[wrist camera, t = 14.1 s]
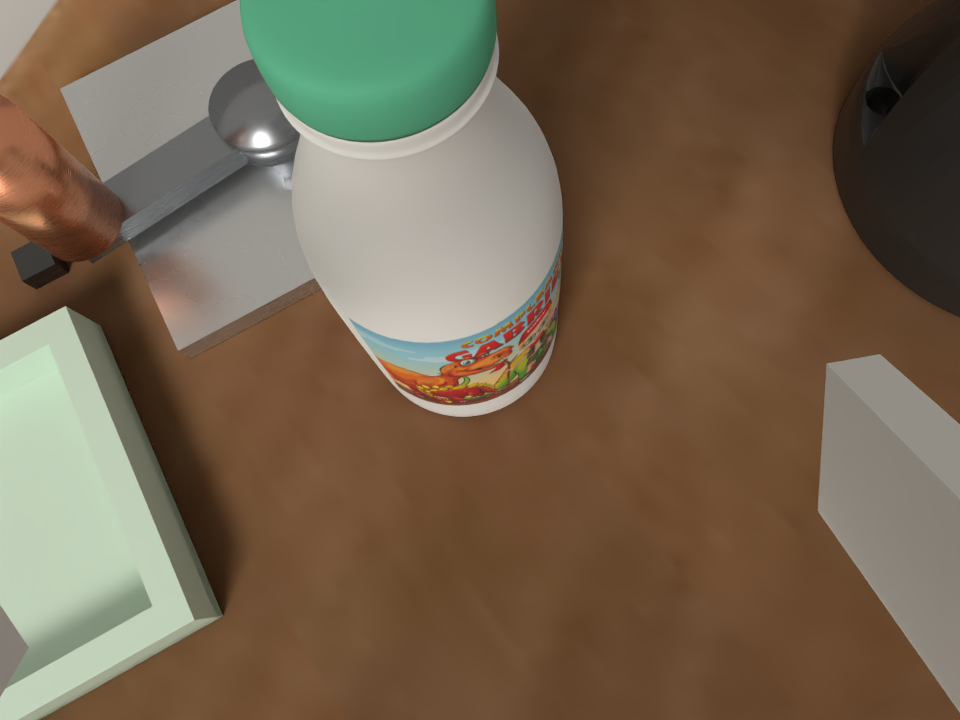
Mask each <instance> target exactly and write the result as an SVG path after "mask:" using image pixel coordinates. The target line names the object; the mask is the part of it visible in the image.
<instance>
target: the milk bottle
mask: <svg viewBox="0 0 960 720" xmlns="http://www.w3.org/2000/svg"><path fill="white" fill-rule="evenodd" d="M240 15H241V22H242V28H243V33H244V37H245V40H246V43H247V46H248V48H249V50H250V53H251V55H252V57H253V59H254V61H255V63H256V65H257V67H258V69H259V71H260V73H261V75H262V77H263V78H264V80H265V82H266V83H267V85H268V86H269V88H270V89H271V91H272V93H273V94H274V96H275V97H276V100H277V102H278V104H279V106H280V109H281V110H282V112H283V114H284V115H285V117H286V118H287V120H288V121H289V122H290V124H291V125H292V126H293V127H294V128H295V129H296V130H297V131H298V132H299V133H300V138H299V142H298V146H297V150H296V154H295V160H294V166H293V173H292V210H293V215H294V221H295V226H296V231H297V235H298V239H299V242H300V245H301V248H302V250H303V253H304V255H305V258H306V260H307V263H308V265H309V267H310V270H311V271H312V273H313V275H314V277H315V279H316V280H317V282H318V284H319V285H320V287H321V288H322V290H323V291H324V293H325V295H326V296H327V298H328V299H329V301H330V303H331V304H332V305H333V307H334V308H335V310H336V311H337V312H338V314H339V315H340V317H341V318H342V319H343V321H344V322H345V323H346V325H347V326H348V327H349V329H350V330H351V331H352V333H353V334H354V336H355V337H356V338H357V340H358V341H359V342H360V344H361V345H362V346H363V347H364V349H365V350H366V351H367V353H368V354H369V355H370V357H371V358H372V359H373V360H374V362H375V363H376V364H377V366H378V367H379V368H380V369H381V371H382V372H383V373H384V374H385V376H386V377H387V378H388V379H389V381H390V382H391V383H392V384H393V385H394V386H395V387H396V388H397V389H398V390H399V391H400V392H401V393H402V394H403V395H404V396H405V397H407V398H408V399H409V400H411V401H412V402H414V403H415V404H417V405H419V406H421V407H423V408H425V409H427V410H430V411H432V412H435V413H439V414H443V415H449V416H460V417H466V416H477V415H483V414H487V413H490V412H493V411H496V410H499V409H501V408H503V407H505V406H507V405H509V404H511V403H513V402H514V401H516V400H517V399H519V398H520V397H521V396H523V395H524V394H525V393H526V392H527V391H528V390H529V389H530V388H531V387H532V386H533V385H534V384H535V383H536V381H537V380H538V379H539V377H540V376H541V375H542V373H543V371H544V370H545V368H546V366H547V364H548V362H549V359H550V357H551V354H552V351H553V347H554V342H555V337H556V330H557V320H558V308H559V295H560V282H561V264H562V246H563V207H562V194H561V189H560V183H559V178H558V173H557V169H556V165H555V162H554V158H553V156H552V153H551V151H550V148H549V146H548V144H547V141H546V139H545V136H544V134H543V133H542V131H541V129H540V127H539V126H538V124H537V122H536V121H535V119H534V118H533V116H532V115H531V113H530V112H529V110H528V109H527V108H526V106H525V105H524V104H523V103H522V102H521V101H520V99H519V98H518V97H517V96H516V95H515V94H514V93H513V92H512V91H511V90H510V89H509V88H508V87H507V86H506V85H505V84H504V83H503V82H501V81H500V80H499V79H498V78H497V77H496V74H497V68H498V62H499V43H498V37H497V20H496V0H240Z"/></svg>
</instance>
